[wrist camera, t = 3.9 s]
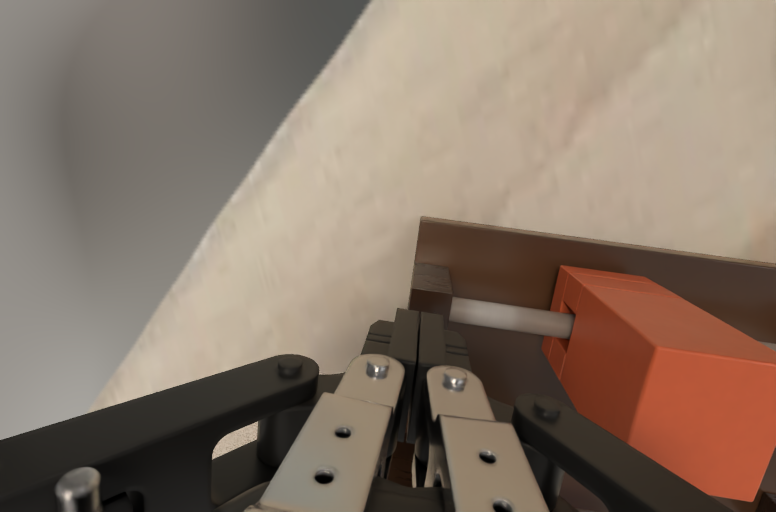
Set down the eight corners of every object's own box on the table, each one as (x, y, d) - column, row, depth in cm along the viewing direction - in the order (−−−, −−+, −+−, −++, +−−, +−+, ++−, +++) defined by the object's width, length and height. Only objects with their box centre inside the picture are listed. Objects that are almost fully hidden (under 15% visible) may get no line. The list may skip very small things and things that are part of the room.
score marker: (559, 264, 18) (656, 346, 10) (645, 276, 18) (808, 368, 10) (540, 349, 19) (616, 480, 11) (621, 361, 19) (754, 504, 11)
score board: (420, 215, 20) (418, 235, 15) (861, 275, 19) (1009, 316, 14) (383, 477, 24) (372, 558, 19) (751, 541, 23) (839, 645, 18)
